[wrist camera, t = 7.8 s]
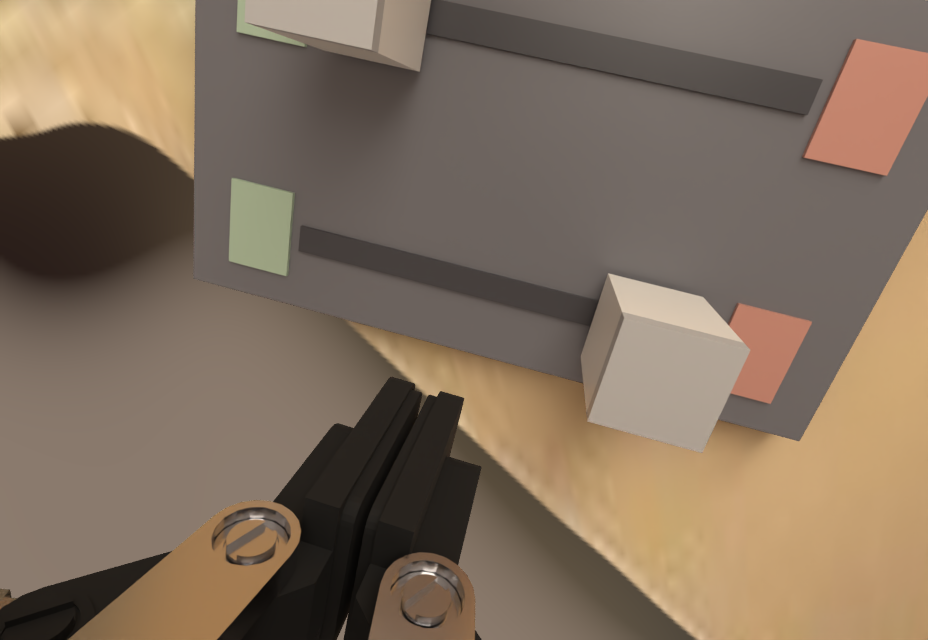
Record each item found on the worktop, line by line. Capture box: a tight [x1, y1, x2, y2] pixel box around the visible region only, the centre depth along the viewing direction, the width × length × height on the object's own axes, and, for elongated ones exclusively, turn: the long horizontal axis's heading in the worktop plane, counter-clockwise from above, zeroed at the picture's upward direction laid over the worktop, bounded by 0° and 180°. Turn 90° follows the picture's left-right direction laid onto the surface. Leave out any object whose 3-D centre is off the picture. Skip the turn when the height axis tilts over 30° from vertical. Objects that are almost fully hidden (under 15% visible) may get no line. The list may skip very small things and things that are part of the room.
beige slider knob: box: [581, 273, 750, 453], centre depth 19 cm, size 4×4×6 cm
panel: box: [194, 0, 928, 441], centre depth 22 cm, size 30×17×2 cm, turn 78°
